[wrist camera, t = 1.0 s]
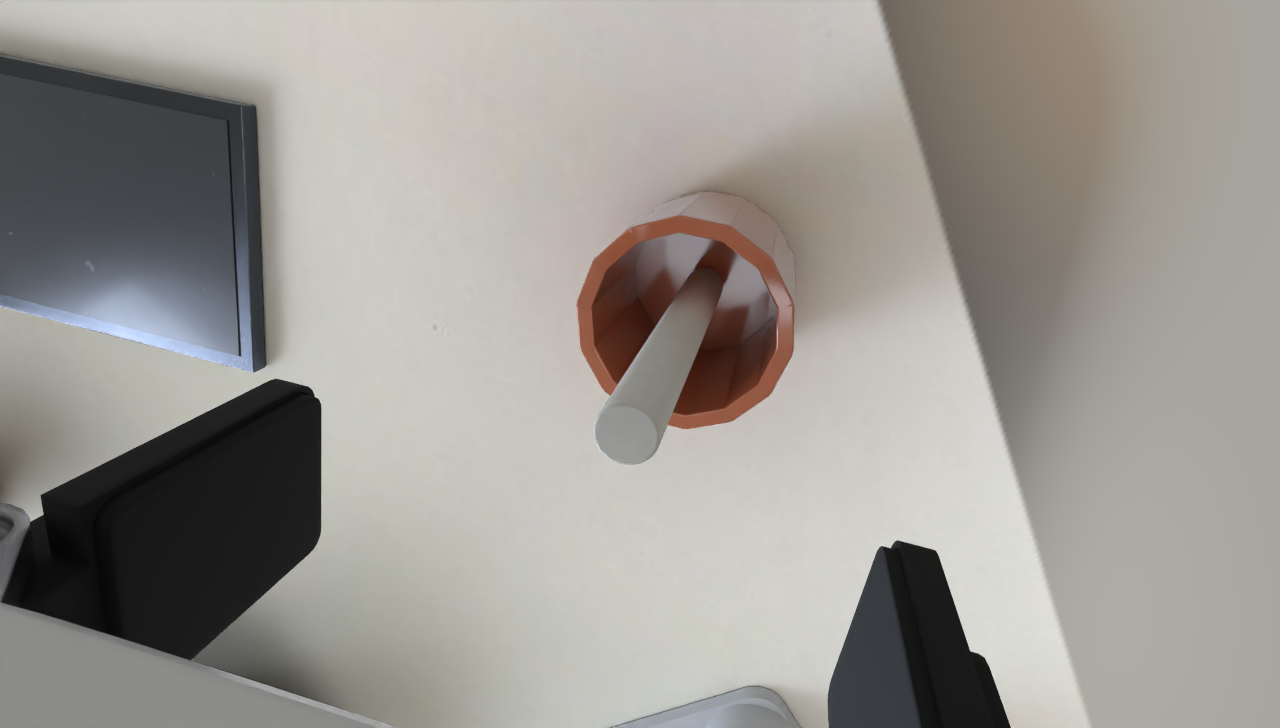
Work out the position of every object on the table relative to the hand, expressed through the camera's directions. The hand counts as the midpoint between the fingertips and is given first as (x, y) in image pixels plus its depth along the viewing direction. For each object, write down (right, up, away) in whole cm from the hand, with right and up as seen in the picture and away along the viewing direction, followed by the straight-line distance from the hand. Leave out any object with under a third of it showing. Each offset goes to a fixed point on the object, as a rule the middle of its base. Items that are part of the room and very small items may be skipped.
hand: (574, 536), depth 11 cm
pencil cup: (+4, +6, +16) cm, 18 cm away
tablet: (-24, +10, +21) cm, 33 cm away
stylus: (+4, +6, +16) cm, 17 cm away
